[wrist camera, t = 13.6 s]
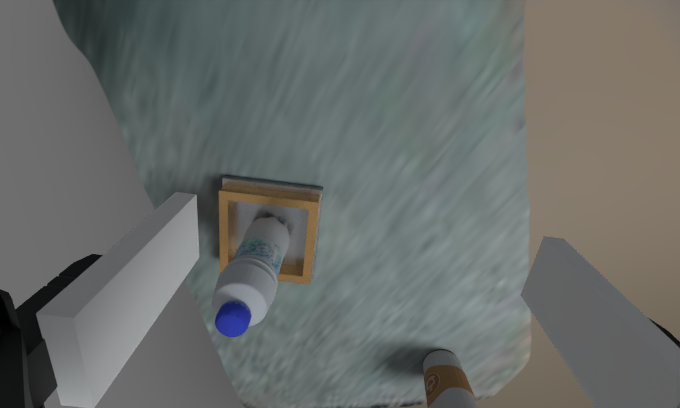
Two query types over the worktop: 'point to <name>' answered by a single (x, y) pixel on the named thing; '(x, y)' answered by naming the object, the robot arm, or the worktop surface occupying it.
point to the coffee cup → (446, 382)
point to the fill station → (269, 201)
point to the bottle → (250, 277)
